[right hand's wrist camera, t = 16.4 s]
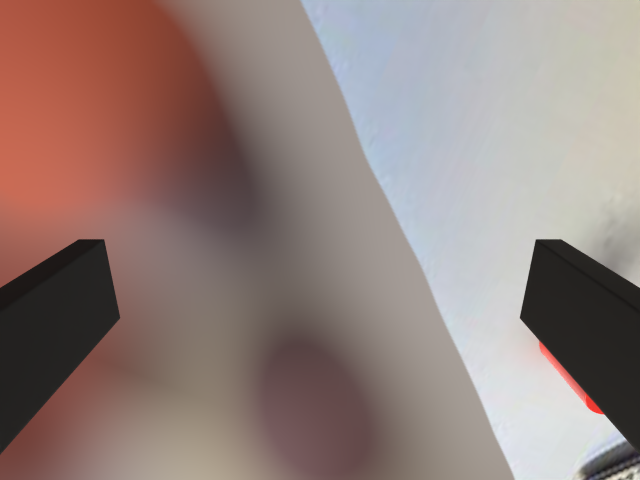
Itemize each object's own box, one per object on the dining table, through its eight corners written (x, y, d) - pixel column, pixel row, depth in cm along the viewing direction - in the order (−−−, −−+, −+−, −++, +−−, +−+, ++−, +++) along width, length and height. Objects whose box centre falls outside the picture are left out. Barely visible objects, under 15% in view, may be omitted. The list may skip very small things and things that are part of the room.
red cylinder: (545, 364, 42) (591, 421, 35) (533, 331, 40) (579, 383, 33) (589, 349, 41) (645, 404, 34) (579, 314, 40) (636, 363, 32)
